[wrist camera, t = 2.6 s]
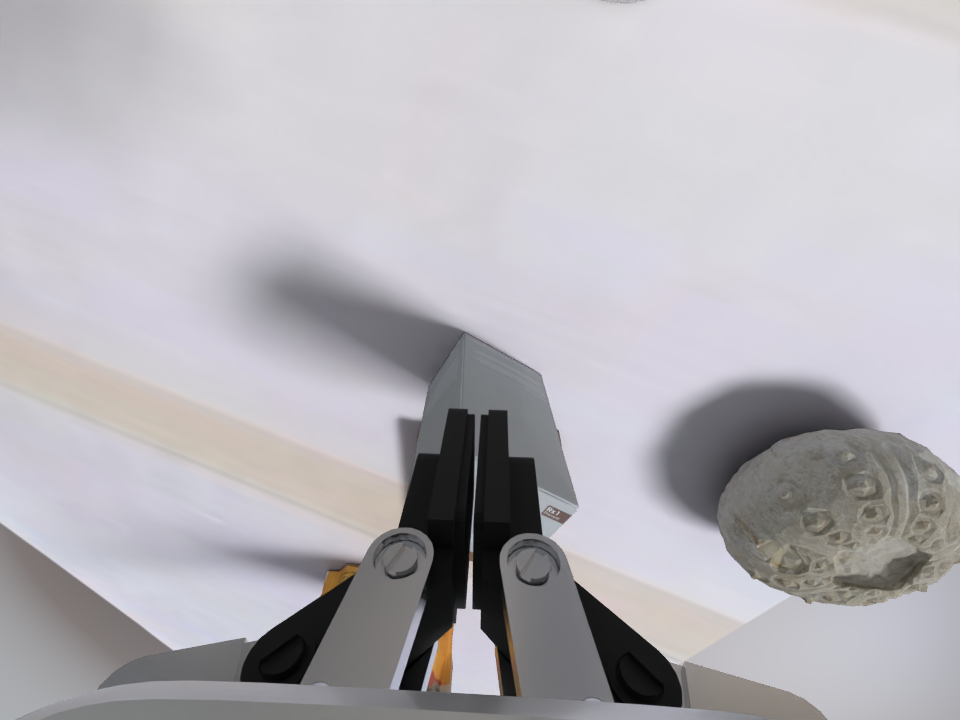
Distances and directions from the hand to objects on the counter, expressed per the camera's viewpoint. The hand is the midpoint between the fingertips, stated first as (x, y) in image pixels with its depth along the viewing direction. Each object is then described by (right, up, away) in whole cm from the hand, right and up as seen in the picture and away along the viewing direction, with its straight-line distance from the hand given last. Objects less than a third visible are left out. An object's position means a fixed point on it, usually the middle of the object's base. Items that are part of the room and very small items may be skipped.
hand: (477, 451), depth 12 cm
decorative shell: (+31, -9, +29) cm, 43 cm away
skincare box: (+1, +1, +25) cm, 25 cm away
